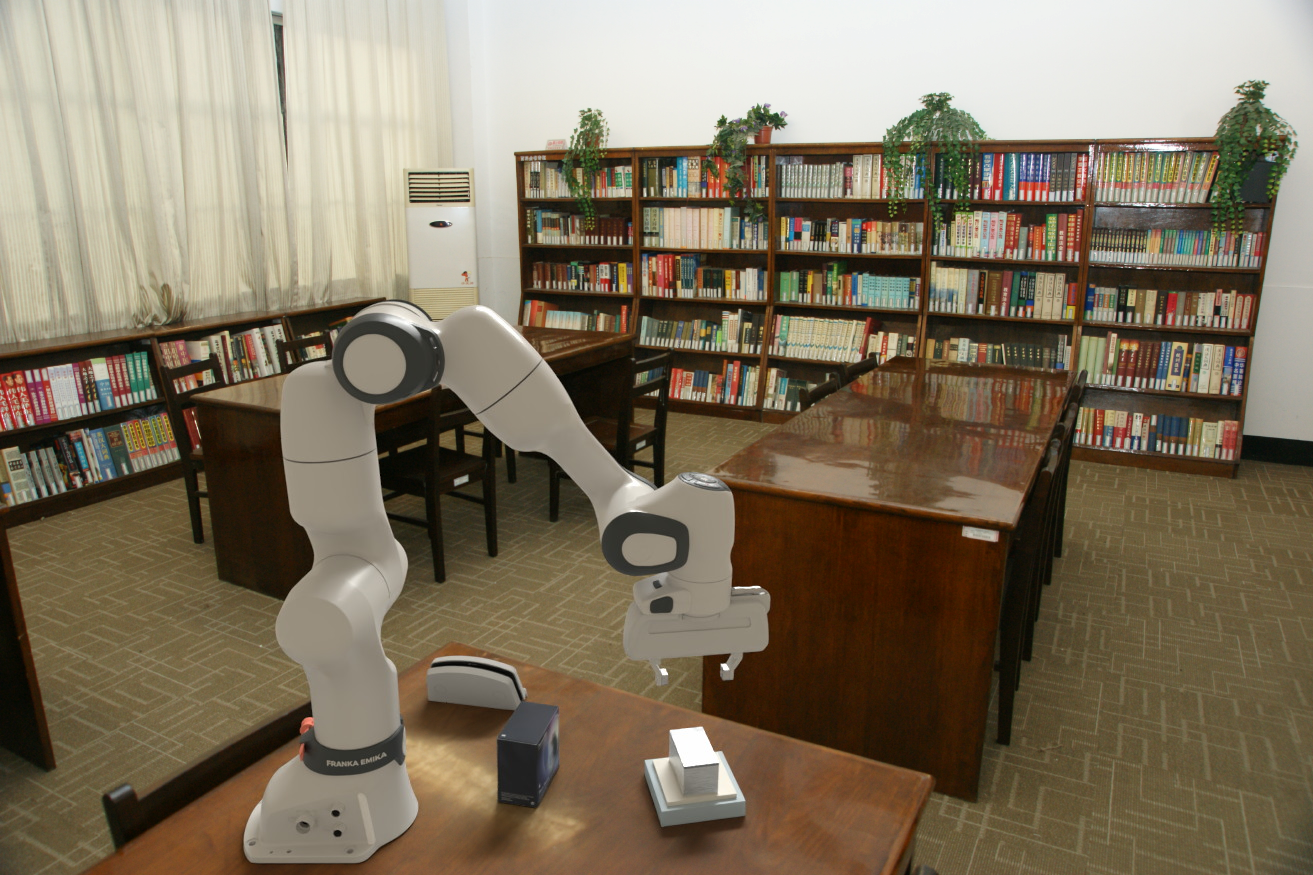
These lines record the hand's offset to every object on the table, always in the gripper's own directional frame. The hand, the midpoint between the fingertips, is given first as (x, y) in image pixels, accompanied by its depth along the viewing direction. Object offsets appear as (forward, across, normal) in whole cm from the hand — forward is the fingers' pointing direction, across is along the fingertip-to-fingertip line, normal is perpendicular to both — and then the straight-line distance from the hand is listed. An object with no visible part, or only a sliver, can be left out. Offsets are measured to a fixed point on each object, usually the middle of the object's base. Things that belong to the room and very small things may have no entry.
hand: (694, 680), depth 127 cm
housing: (+15, 0, 0) cm, 15 cm away
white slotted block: (+20, +30, -31) cm, 47 cm away
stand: (+18, -1, 0) cm, 18 cm away
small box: (+19, +22, -7) cm, 30 cm away
